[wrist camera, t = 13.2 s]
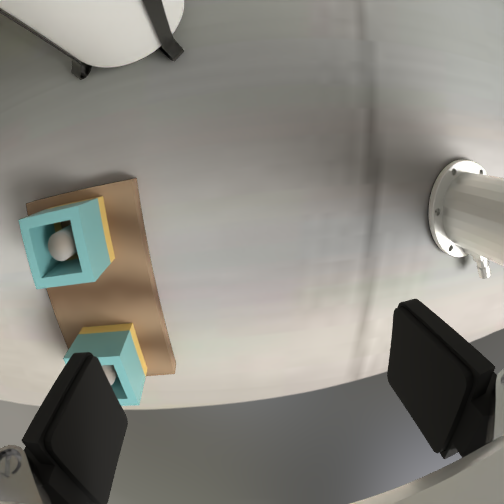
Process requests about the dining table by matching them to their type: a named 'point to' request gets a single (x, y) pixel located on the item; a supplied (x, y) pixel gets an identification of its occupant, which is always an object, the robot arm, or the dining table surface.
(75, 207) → the seated sleeve
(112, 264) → the pin board
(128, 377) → the sleeve
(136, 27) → the coffee press
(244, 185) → the dining table surface
